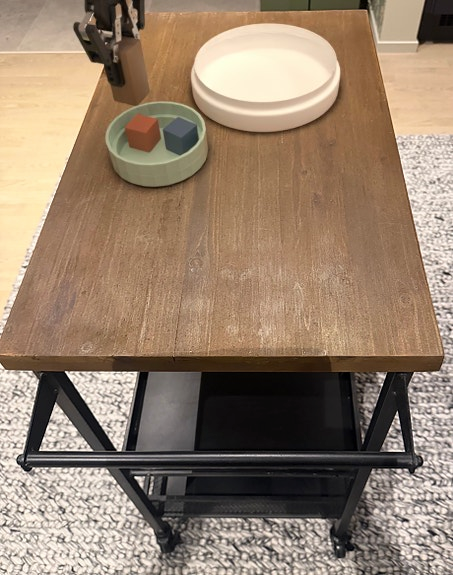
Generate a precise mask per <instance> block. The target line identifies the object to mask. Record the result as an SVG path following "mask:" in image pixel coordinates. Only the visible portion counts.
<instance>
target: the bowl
mask: <svg viewBox="0 0 453 575" xmlns="http://www.w3.org/2000/svg"><path fill="white" fill-rule="evenodd" d="M136 114H140V115H144V116H148V117H152V118H156V119H158V124H159V129H160V134H161V140H160V141H159V142H158V143H157V145H156V146H155V147H154V148H153V150H152V151H151V152H150V153H149V152H145V151H141V150H138V149H134V148H130V147H129V143H128V139H127V135H126V131H125V127H126V126H127V124H128V123H129V122H130V121H131V120H132V119H133V118H134V116H135V115H136ZM177 117H180V118H183V119H185V120H187V121H189V122H192V123H194V124H196V125H197V129H198V138H199V141H198V142H197V144H196V145H195V146H194V147H193V148H191V149H190V150H189V151H188V152H186V153H184V154H183V155H181V156H179V155H177V154H175V153H173V152H171V151H169V150H167V149H166V146H165V140H164V135H163V129H164V128H165V127H166V126H167V125H169V124H170V123H171V122H172V121H173V120H175V119H176V118H177ZM105 146H106V148H107V152H108V156H109V158H110V162H111V165H112V168H113V170H114V172H116V174H117V175H118V176H119V177H120V178H121V179H123V180H125V181H127V182H129V183H131V184H134V185H138V186H141V187H152V188H153V187H154V188H156V187H165V186H170V185H174V184H177V183H180V182H183V181H184V180H187V179H188V178H190V177H192V176H193V175H195V173H196V172H198V171H199V170H200V169H201V168H202V167H203V165H204V163H206V160H207V158H208V153H209V146H208V137H207V128H206V121H205V120H204V118H203V117H202V115H201V113H199V112H198V111H197V110H195V109H194V108H193V107H191V106H188V105H186V104H184V103H179V102H176V101H175V102H174V101H164V100H163V101H162V100H160V101H158V100H157V101H151V102H149V101H148V102H145V103H140V104H139V105H138V106H133V107H130V108H128V109H126V110H124V111H123V112H121V113H119V115H117V116H116V117H115V118H114V119H113V120H112V122H111V123H109V125H108V127H107V129H106V132H105Z"/></svg>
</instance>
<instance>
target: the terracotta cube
mask: <svg viewBox="0 0 453 575" xmlns="http://www.w3.org/2000/svg"><path fill="white" fill-rule="evenodd" d="M125 131H126V135H127V139H128V143H129V147H130V148H134V149H138V150H141V151H145V152H149V153H150V152H151V151H152V150H153V148H154V147H155V146H156V145H157V143H158V142H159V141H160V140H161V134H160V129H159V124H158V119H156V118H152V117H148V116H144V115H140V114H136V115H135V116H134V118H133V119H132V120H131V121H130V122H129V123H128V124H127V126H126V127H125Z"/></svg>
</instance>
